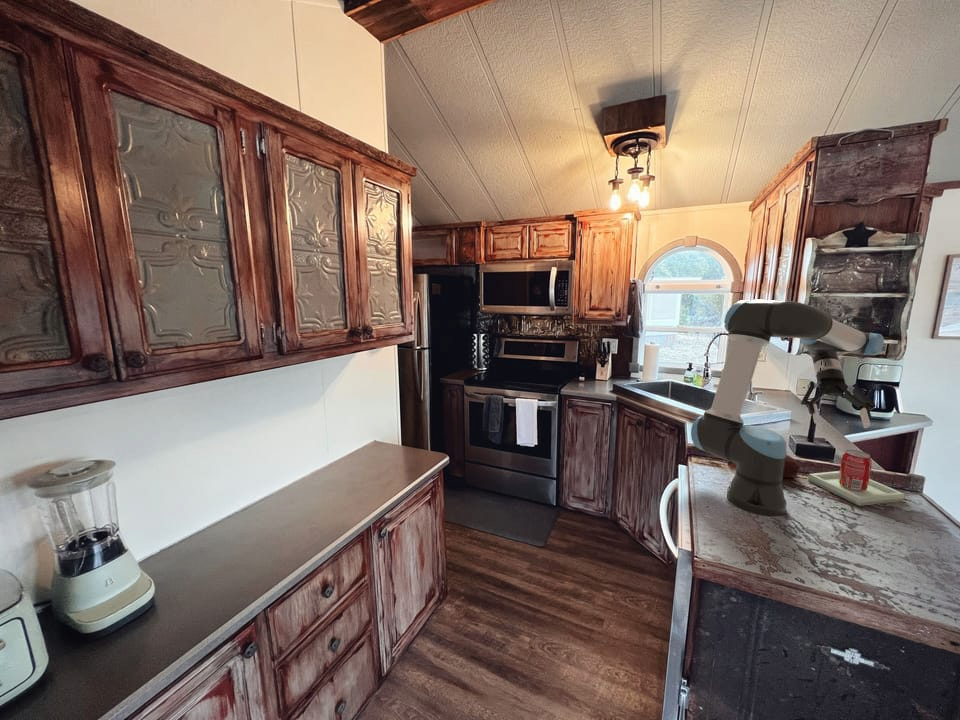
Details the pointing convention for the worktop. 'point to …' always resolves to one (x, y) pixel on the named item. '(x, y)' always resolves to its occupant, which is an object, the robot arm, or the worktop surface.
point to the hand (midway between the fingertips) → (841, 424)
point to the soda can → (855, 470)
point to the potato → (790, 467)
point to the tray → (870, 496)
